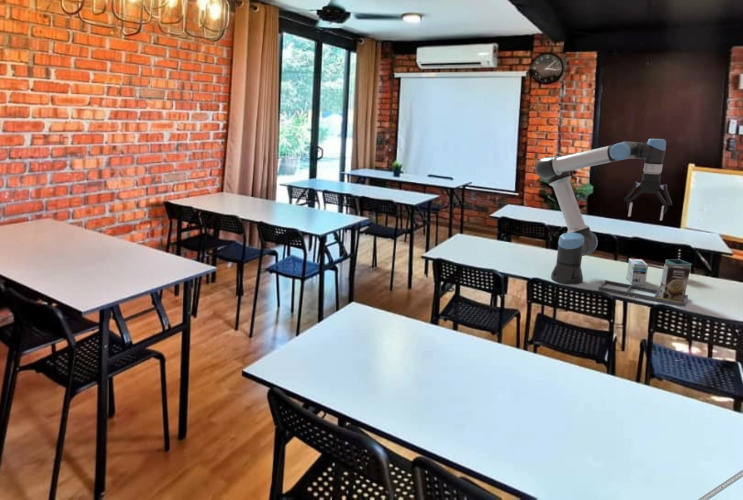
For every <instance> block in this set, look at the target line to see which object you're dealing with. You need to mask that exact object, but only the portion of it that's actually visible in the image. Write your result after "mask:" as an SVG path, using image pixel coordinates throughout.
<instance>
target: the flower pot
mask: <svg viewBox="0 0 743 500" xmlns="http://www.w3.org/2000/svg"><path fill="white" fill-rule="evenodd" d="M664 264H670V265H684V266H686V267H688V268H689V269H690V270H691V267H692V263H690V262H688V261H685V260H682V259H665V263H664Z"/></svg>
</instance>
